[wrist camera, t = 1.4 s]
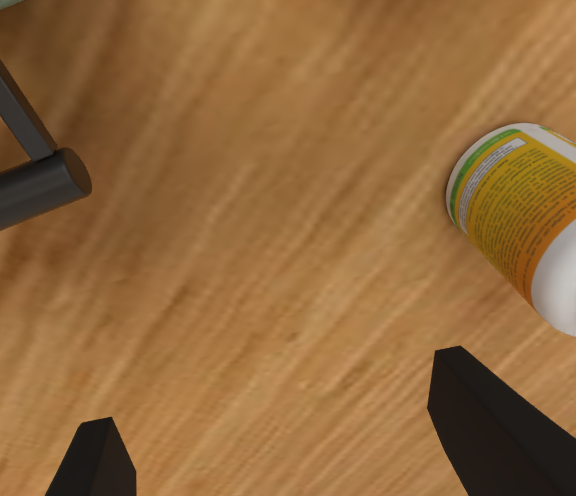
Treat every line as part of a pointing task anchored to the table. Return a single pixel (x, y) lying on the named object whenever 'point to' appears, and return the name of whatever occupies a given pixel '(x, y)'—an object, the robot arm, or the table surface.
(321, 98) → the table surface
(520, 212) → the supplement bottle
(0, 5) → the drawer
